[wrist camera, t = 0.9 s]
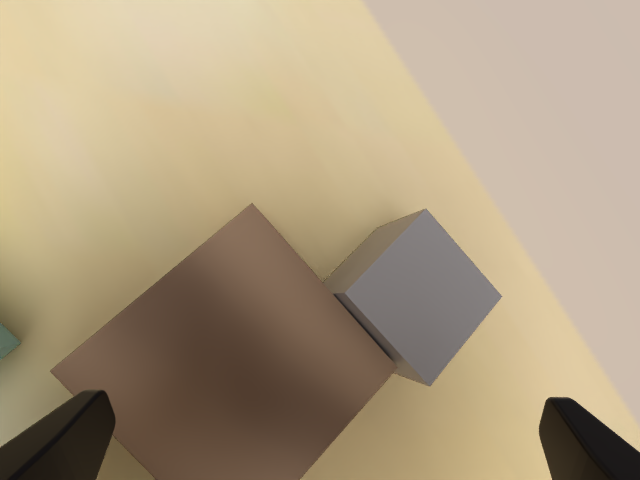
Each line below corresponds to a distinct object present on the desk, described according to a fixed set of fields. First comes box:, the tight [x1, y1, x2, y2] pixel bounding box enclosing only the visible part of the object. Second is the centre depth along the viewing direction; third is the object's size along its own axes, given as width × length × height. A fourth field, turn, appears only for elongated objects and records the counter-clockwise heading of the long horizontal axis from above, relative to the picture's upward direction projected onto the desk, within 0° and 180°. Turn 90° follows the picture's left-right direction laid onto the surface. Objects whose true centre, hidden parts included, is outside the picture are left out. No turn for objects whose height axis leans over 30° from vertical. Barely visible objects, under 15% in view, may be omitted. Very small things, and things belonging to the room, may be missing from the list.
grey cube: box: [323, 209, 502, 386], centre depth 19 cm, size 5×5×5 cm
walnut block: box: [50, 203, 398, 480], centre depth 18 cm, size 9×9×4 cm
